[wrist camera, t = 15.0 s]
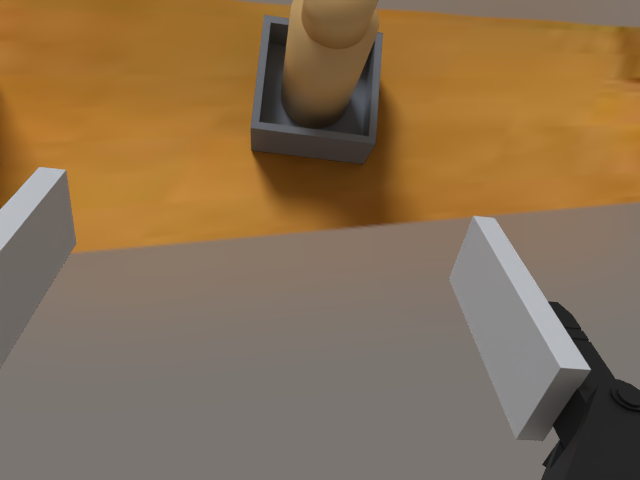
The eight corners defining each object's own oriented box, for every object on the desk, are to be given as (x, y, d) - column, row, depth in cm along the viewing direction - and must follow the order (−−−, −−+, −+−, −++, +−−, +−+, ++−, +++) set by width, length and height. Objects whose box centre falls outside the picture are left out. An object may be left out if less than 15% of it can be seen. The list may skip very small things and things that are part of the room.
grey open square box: (251, 150, 37) (250, 127, 33) (263, 47, 38) (264, 14, 35) (363, 164, 38) (375, 144, 34) (370, 63, 39) (382, 32, 35)
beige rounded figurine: (277, 124, 36) (290, 23, 25) (283, 61, 37) (297, -63, 26) (346, 132, 36) (389, 37, 25) (350, 69, 37) (392, -48, 26)
